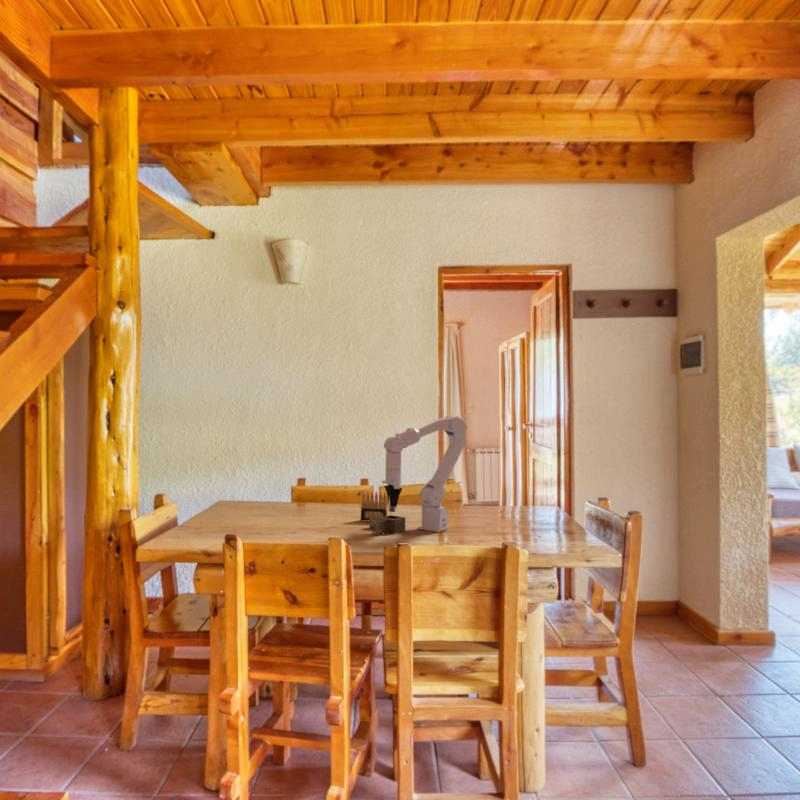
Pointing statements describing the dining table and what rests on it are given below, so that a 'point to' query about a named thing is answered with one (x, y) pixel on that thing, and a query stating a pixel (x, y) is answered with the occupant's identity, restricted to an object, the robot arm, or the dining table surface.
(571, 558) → the dining table surface
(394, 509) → the pin
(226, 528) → the dining table surface
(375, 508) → the ammunition clip
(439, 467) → the robot arm
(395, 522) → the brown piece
